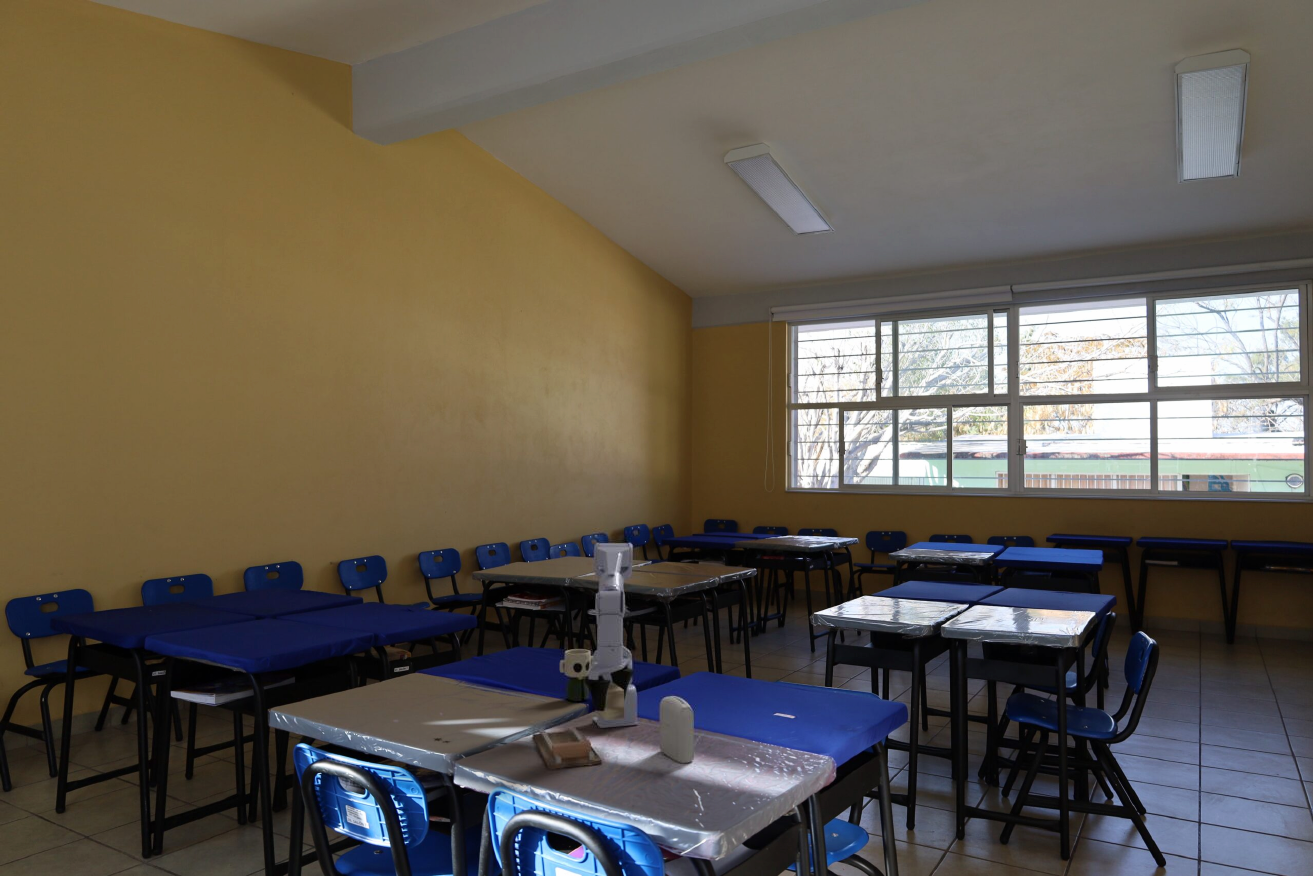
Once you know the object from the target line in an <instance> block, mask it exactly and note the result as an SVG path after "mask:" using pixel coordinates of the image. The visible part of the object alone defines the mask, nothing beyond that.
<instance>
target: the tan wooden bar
mask: <svg viewBox="0 0 1313 876" xmlns="http://www.w3.org/2000/svg"><path fill="white" fill-rule="evenodd" d="M591 746H592V743H591V741H590V740H587V741H581V742H570V743H560V744H552V751H553V752H552V757H553V759H554V756H553V755H554V753H559V755H560V757H561V759H562V758H572V757H582V756H586V750H591Z"/></svg>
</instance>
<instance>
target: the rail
mask: <svg viewBox="0 0 1313 876" xmlns="http://www.w3.org/2000/svg"><path fill="white" fill-rule="evenodd" d="M538 729H539V733H538V734H539V735H540V736H541V738H542V740H543V742H544V743H545V745H546V747H547V749H548V750H549V752H550V754H551V756H552V752H553V751H552V744H553V743H552V742H551V740H550V738H549V737H548V735H547V733H548V732H547V731H546V730H545V728H538ZM577 730H578V729H576V727H575V726H574V725H572V726H571V725H570V726H569V729H568V731H569V732H570V733H571V735H572V736H573V738H574V739H575V740H576V742H581V741H584V739H583V738H582V737H581V735H580V734H579V733H578V731H577ZM553 756H554V761H555V763H556V764H561V757H560V755H559V753H554V755H553ZM586 756H587V758H588V759H589V760H594V753H593V752H592V750H586Z"/></svg>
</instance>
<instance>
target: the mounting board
mask: <svg viewBox="0 0 1313 876" xmlns="http://www.w3.org/2000/svg"><path fill="white" fill-rule="evenodd" d="M576 730H577V731H578V733H579V734H580V735H581V737H582V738H583V739H584V741H588V739H587V738H586V737H585V736H584V734H583V733H582V731H581V730H579V729H576ZM546 733H547V735H548V737H549V738H550V740H551V742H552V743H553V744H560V743H570V742H576V740H575V739H574V738H573V736H572V735H571V733H570V732H569V730H565V731H555V732H554V731H553V732H546ZM532 740H533V741H534V744H535V745H536V747H537V749H538V751H539V753H540V755H541V756H542V758H543V760H544V762H545V764H546V766H547V768H548V767H549V768H548V769H550V770H557V769H556V768H560V769H565V768H564V767H569V768H573V767H572V766H579V767H581V766H580V765H588V766H590V765H589V764H597V765H603V759H602V758H601V757H600V756H599V755H598V752H597V751H595V749H594V747H593V746H592V745H591V750H592V752H593V753H594V760H589V759H588V758H587V756H582V757H572V758H562V759H561V764H556V763H555V761H554V759H553V757H552V756H551V754H550V752H549V750H548V749H547V747H546V745H545V743H544V742H543V740H542V738H541V736H540V735H539V733H534V734H532Z"/></svg>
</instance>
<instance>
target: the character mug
mask: <svg viewBox="0 0 1313 876" xmlns="http://www.w3.org/2000/svg"><path fill="white" fill-rule="evenodd" d="M591 653H592V652H591V650H589V649H583V648H575V649H569V650H565V651H564V659H562V660H560V661H559V672H560V673H564V675H565V676H567V677H569V678H568V680H567V684H566V692H565V698H566V699H568V700H570V701H575V702H577V701H582V700H584V701H586V700H588V699H589V698H590V694H589V693H590V690H589V688H588V686H587V685H586V683H585V678H586V677H588V676H589V670H590V669H592V663H593V655H591Z"/></svg>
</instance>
